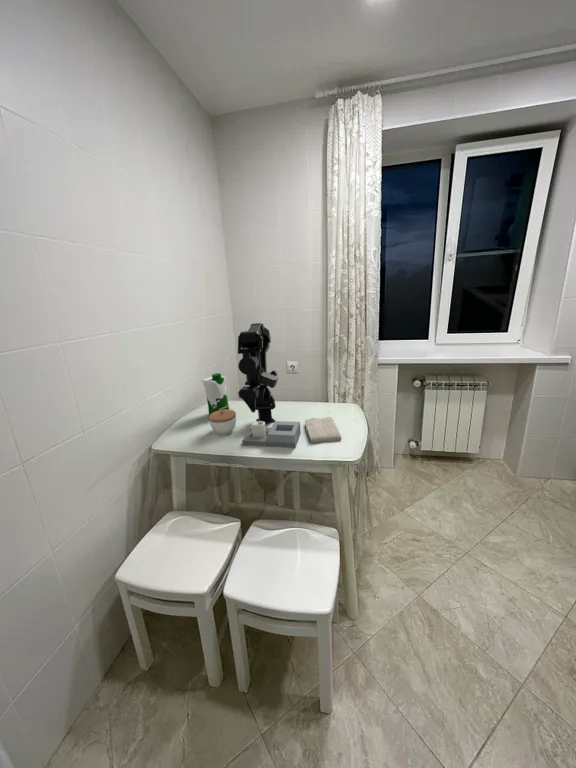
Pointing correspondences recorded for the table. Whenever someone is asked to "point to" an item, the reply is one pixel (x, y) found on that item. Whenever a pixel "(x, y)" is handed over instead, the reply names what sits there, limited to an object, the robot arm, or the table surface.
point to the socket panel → (265, 441)
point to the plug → (259, 429)
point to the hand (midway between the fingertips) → (257, 407)
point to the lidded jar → (223, 421)
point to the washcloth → (322, 430)
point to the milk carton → (216, 393)
